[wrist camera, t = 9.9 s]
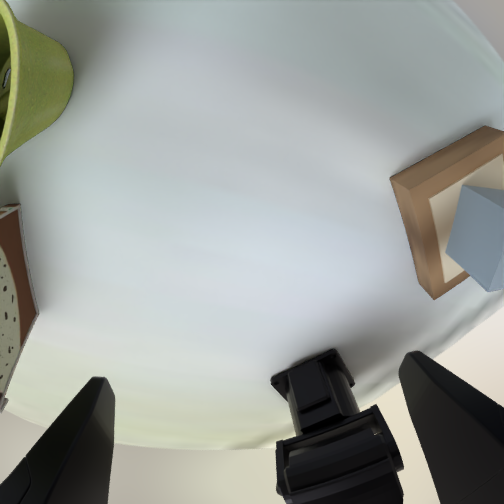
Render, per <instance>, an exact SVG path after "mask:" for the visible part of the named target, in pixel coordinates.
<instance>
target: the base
mask: <svg viewBox="0 0 504 504" xmlns="http://www.w3.org/2000/svg"><path fill="white" fill-rule="evenodd" d="M390 181H391V184H392V187H393V190H394V193H395V196H396V199H397V203H398V206H399V209H400V212H401V216H402V219H403V223H404V226H405V230H406V233H407V237H408V241H409V244H410V248H411V252H412V256H413V260H414V264H415V269H416V273H417V277H418V282H419V284H420V285H421V286H422V287H423V288H424V290H425V291H426V292H427V293H428V294H429V295H430V296H431V298H432V299H433V300H435V299H437V298H438V297H440V296H442V295H443V294H445V293H446V292H448V291H449V290H450V289H452V288H453V287H455V286H456V285H458V284H459V283H461V282H462V281H464V280H465V279H466V278H468V277H469V276H470V275H469V274H468V273H467V272H466V271H465V270H464V269H463V268H462V267H461V266H460V265H458V264H457V263H456V262H455V261H454V260H453V259H452V258H451V257H450V256H448V255H447V254H446V253H445V251H446V247H447V244H448V240H449V237H450V233H451V229H452V225H453V222H454V218H455V213H456V209H457V205H458V201H459V196H460V191H461V186H462V185H469V186H477V187H485V188H492V189H499V190H504V131H501V130H498V129H494V128H491V127H488V126H484V127H482V128H480V129H478V130H476V131H475V132H473V133H471V134H469V135H467V136H465V137H464V138H462V139H460V140H458V141H456V142H454V143H453V144H451V145H449V146H447V147H445V148H444V149H442V150H440V151H438V152H436V153H434V154H433V155H431V156H429V157H427V158H425V159H424V160H422V161H420V162H418V163H416V164H414V165H413V166H411V167H409V168H407V169H405V170H403V171H402V172H400V173H398V174H396V175H394V176H392V177H391V178H390Z"/></svg>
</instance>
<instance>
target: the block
mask: <svg viewBox="0 0 504 504" xmlns="http://www.w3.org/2000/svg"><path fill="white" fill-rule="evenodd" d="M445 253H446V254H447V255H448V256H450V257H451V258H452V259H453V260H454V261H455V262H456V263H457V264H458V265H460V266H461V267H462V268H463V269H464V270H465V271H466V272H467V273H468V274H469V275H470V276H471V277H472V278H473V279H475V280H476V281H477V282H478V283H479V284H480V285H481V286H482V287H483V288H484V289H485V290H486V291H487V292H491V291H496V290H501V289H504V190H499V189H492V188H485V187H477V186H469V185H462V186H461V191H460V196H459V201H458V205H457V209H456V213H455V218H454V222H453V225H452V229H451V233H450V237H449V240H448V244H447V247H446V251H445Z"/></svg>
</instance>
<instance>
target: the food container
mask: <svg viewBox="0 0 504 504" xmlns="http://www.w3.org/2000/svg"><path fill="white" fill-rule="evenodd" d="M38 315H39V311H38V307H37V303H36V299H35V295H34V290H33V286H32V281H31V276H30V270H29V265H28V259H27V253H26V247H25V240H24V233H23V224H22V215H21V205H20V204H8V205H6V206H4V207H1V208H0V413H2V411H3V409H4V408H5V406H6V404H7V402H8V401H9V400H8V399H7V398H4V397H5V395H6V392H7V389H8V386H9V383H10V381H11V378H12V375H13V373H14V370H15V368H16V365H17V363H18V360H19V358H20V355H21V353H22V350H23V348H24V346H25V343H26V341H27V339H28V337H29V334H30V332H31V330H32V328H33V325H34V323H35V321H36V319H37V317H38Z"/></svg>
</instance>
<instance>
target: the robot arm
mask: <svg viewBox="0 0 504 504" xmlns="http://www.w3.org/2000/svg"><path fill="white" fill-rule="evenodd" d="M399 379H400V382H401V386H402V389H403V393H404V396H405V400H406V404H407V407H408V411H409V414H410V416H411V420H412V423H413V425H414V428H415V430H416V433H417V436H418V438H419V441H420V444H421V447H422V450H423V452H424V455H425V458H426V461H427V463H428V467H429V470H430V473H431V475H432V478H433V482H434V485H435V488H436V491H437V494H438V497H439V500H440V504H504V407H502V406H501V405H499V404H497V403H496V402H495V401H493V400H492V399H490V398H489V397H487V396H486V395H484V394H483V393H482V392H480V391H478V390H477V389H475V388H474V387H473V386H471V385H470V384H468V383H467V382H465V381H464V380H462V379H461V378H459V377H458V376H456V375H455V374H453V373H452V372H450V371H449V370H447V369H446V368H444V367H443V366H441V365H440V364H438V363H437V362H435V361H434V360H432V359H431V358H429V357H428V356H426V355H425V354H423V353H422V352H420V351H412V352H408V353H407V354H406V355H405V357H404V359H403V361H402V364H401V366H400V368H399ZM270 381H271V385H272V386H273V387H274V388H275V389H276V390H277V391H278V392H279V393H280V394H281V396H282V397H283V398H284V399H285V400H286V401H287V402H288V403H289V407H290V412H291V416H292V420H293V424H294V428H295V432H296V437H293V438H289V439H286V440H280V441H276V448H277V450H276V470H277V485H276V491H277V493H278V494H279V495H281V496H283V498H284V500H285V502H286V504H403V495H404V494H403V490H402V487H401V484H400V481H399V478H398V475H397V472H399V471H401V470H403V469H404V465H403V461H402V458H401V455H400V452H399V449H398V447H397V444H396V442H395V439H394V437H393V435H392V433H391V431H390V429H389V427H388V425H387V423H386V421H385V420H384V418H383V416H382V414H381V412H380V410H379V408H378V406H377V405H376V404H375V405H373V406H371V408H369V409H367V410H364V411H362V412H360V410H359V408H358V405H357V403H356V400H355V398H354V395H353V393H352V391H351V387H353V386H354V385H355V382H354V380H353V378H352V376H351V374H350V373H349V371H348V369H347V367H346V365H345V364H344V362H343V360H342V358H341V356H340V355H339V353H338V351H337V350H335V349H332V350H330V351H328V352H326V353H324V354H322V355H320V356H318V357H316V358H314V359H312V360H309V361H307V362H305V363H303V364H301V365H299V366H297V367H295V368H292V369H290V370H288V371H286V372H284V373H281V374H279V375H277V376H275V377H273V378H271V380H270ZM114 420H115V395H114V392H113V390H112V388H111V386H110V384H109V382H108V380H107V378H105V377H96V376H95V377H92V378H91V379H90V380H89V381H88V382H87V384H86V385H85V386H84V387H83V388H82V389H81V390H80V392H79V393H78V394H77V395H76V396H75V397H74V399H73V400H72V401H71V402H70V403H69V404H68V405H67V407H66V408H65V409H64V410H63V411H62V413H61V414H60V415H59V416H58V417H57V418H56V420H55V421H54V422H53V423H52V424H51V426H50V427H49V428H48V429H47V430H46V431H45V433H44V434H43V435H42V436H41V437H40V439H39V440H38V441H37V442H36V444H35V445H34V446H33V447H32V448H31V450H30V451H29V452H28V453H27V454H26V457H24V458H23V459H22V460H21V462H20V463H19V464H18V465H17V467H16V468H15V469H14V470H13V471H12V472H11V474H10V475H9V476H8V477H7V478H6V479H5V480H4V481H3V482H2V483H1V484H0V504H108V493H109V483H110V474H111V465H112V457H113V448H114ZM374 434H375V435H374Z"/></svg>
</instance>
